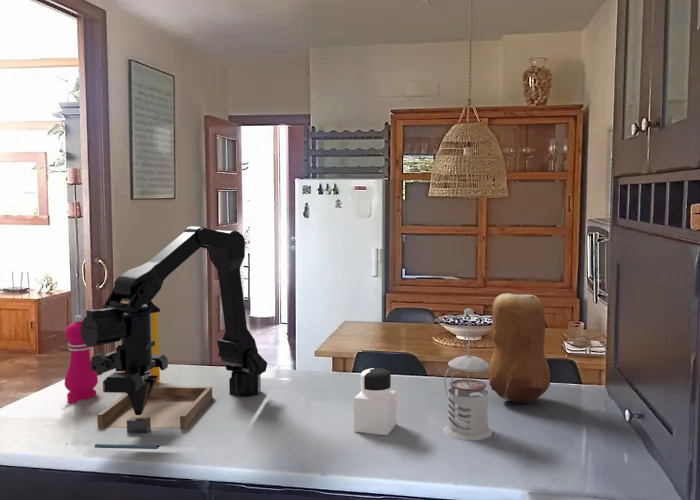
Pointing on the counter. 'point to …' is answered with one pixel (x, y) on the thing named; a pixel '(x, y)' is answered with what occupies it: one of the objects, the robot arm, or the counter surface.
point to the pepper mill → (79, 366)
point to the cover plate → (134, 427)
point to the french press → (467, 399)
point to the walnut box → (160, 407)
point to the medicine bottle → (375, 403)
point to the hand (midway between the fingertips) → (138, 414)
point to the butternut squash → (518, 348)
